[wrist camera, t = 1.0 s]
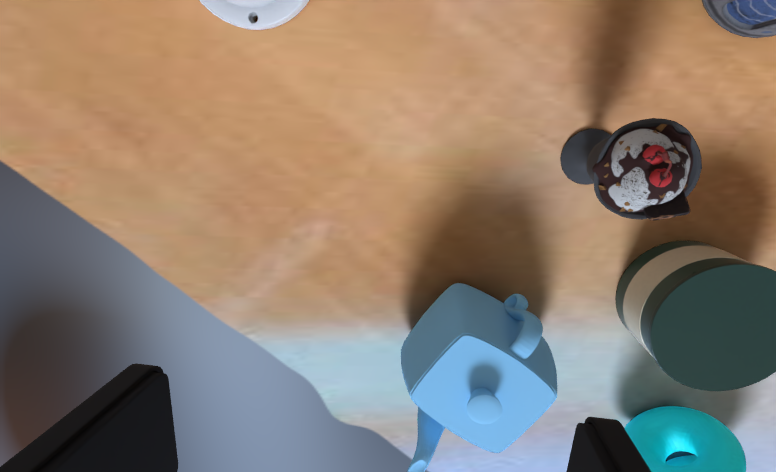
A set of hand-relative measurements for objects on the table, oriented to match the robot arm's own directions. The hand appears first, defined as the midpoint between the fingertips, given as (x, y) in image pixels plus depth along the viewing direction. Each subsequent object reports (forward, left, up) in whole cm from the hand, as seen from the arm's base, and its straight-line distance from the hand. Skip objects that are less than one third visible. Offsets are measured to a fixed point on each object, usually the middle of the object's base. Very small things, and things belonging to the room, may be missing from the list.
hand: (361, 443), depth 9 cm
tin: (+9, +26, -31) cm, 41 cm away
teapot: (+16, +6, -31) cm, 35 cm away
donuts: (+26, +28, -31) cm, 49 cm away
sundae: (-4, +16, -31) cm, 35 cm away
